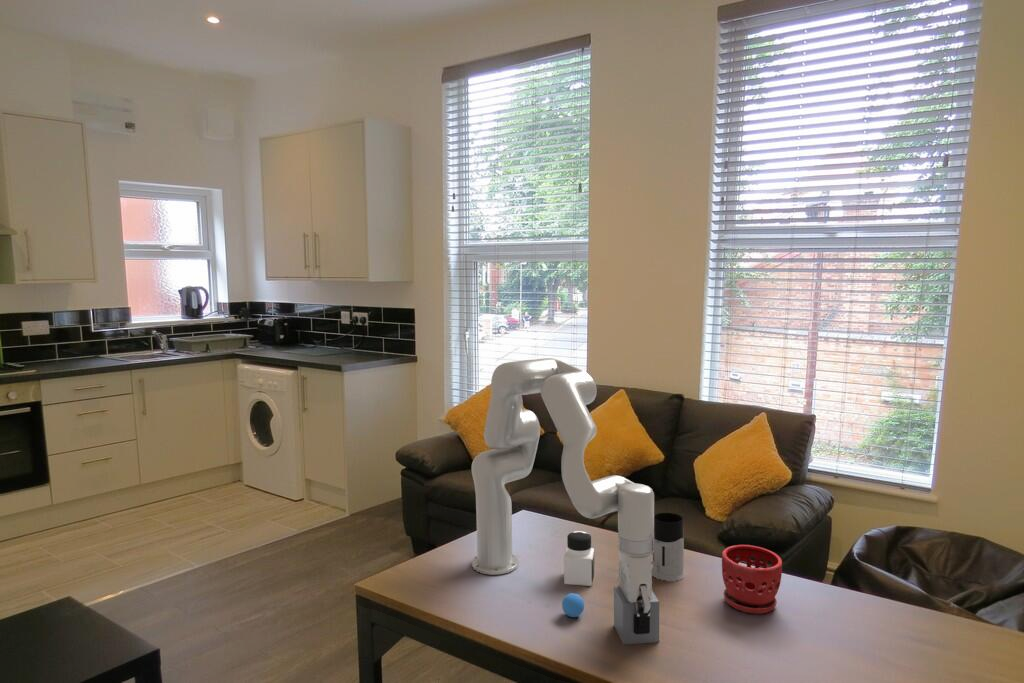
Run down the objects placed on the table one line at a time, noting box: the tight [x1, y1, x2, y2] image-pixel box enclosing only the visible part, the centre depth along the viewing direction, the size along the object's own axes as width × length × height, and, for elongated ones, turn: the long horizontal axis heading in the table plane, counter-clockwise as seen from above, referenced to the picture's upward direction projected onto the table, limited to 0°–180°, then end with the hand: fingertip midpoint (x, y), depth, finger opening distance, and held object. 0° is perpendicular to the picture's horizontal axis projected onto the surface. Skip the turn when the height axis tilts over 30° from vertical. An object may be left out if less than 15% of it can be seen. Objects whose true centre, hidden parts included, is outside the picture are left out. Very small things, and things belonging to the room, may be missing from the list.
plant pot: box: [721, 544, 783, 615], centre depth 148 cm, size 13×13×12 cm
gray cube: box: [613, 585, 660, 645], centre depth 137 cm, size 8×8×9 cm
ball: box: [561, 592, 585, 618], centre depth 145 cm, size 5×5×5 cm
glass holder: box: [651, 512, 686, 582], centre depth 164 cm, size 9×14×15 cm, turn 124°
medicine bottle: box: [563, 530, 595, 587], centre depth 163 cm, size 7×7×12 cm
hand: (636, 622), depth 137 cm, fingers closed on gray cube, 7 cm apart
